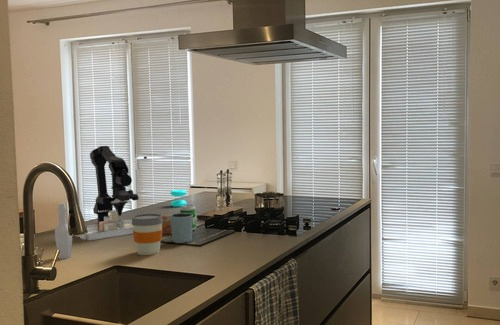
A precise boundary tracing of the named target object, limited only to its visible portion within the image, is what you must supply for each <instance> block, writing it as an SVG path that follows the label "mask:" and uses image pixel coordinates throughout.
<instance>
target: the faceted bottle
mask: <svg viewBox="0 0 500 325" xmlns="http://www.w3.org/2000/svg"><path fill="white" fill-rule="evenodd" d="M67 212H68V208H67V205H66V202H60V203H58V206H57V214H58V225H57V226H56V228H55V229H54V238H55V245H56V251H57V250H60V254H59V257H58V259H59V260H65V259H71V258H72V249H73V248H72V247H73V235H72V236H70V235H69V233H68V225H69V224H68V220H67V219H68V217H67Z"/></svg>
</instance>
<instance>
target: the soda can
mask: <svg viewBox="0 0 500 325" xmlns="http://www.w3.org/2000/svg"><path fill="white" fill-rule="evenodd" d="M179 208H180V209H179V210H180V212H179V213H191V214H193V220H192V232H194V231H195V230H196V229H197V215H196V214H197V208H196V207H195V205H192V204H188V205H184V206H182V207H179ZM193 230H194V231H193Z"/></svg>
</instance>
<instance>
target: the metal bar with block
mask: <svg viewBox="0 0 500 325" xmlns="http://www.w3.org/2000/svg"><path fill="white" fill-rule="evenodd" d="M118 217H119V215H118V213H117V211H116V209H113V210H112V211H109V217H108V216H104V221H110V222H113V223H116V224H117V227H118V228H124V221H123V220H122V219H121V220H120V219H119V218H118Z"/></svg>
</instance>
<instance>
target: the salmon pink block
mask: <svg viewBox="0 0 500 325" xmlns="http://www.w3.org/2000/svg"><path fill="white" fill-rule="evenodd" d="M105 223H112V222H110V221H102V222H99V228H101V229H104V224H105Z"/></svg>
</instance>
